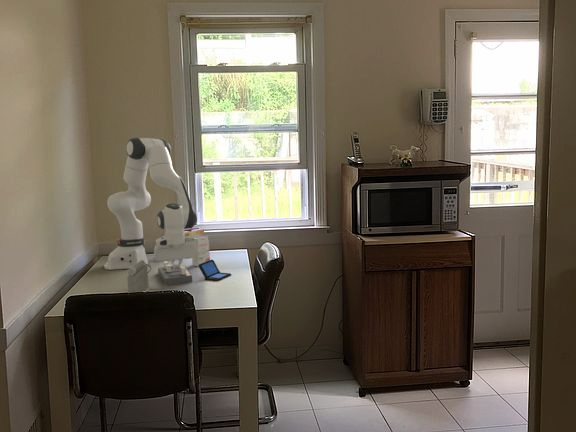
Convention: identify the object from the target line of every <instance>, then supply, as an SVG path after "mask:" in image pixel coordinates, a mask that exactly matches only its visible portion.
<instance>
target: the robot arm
mask: <svg viewBox="0 0 576 432" xmlns="http://www.w3.org/2000/svg"><path fill="white" fill-rule="evenodd" d="M125 150H126V155H127V158H126V163H125V167H124V173H123V181H124V183H126V184H127V186H128V188H127V190H126V191H119V192H116V193H114V194H111V195H110V196H108V198H107V201H106V202H107V203H106V204H107V207H108V210H109V211H110V212H111V213H112V214H114V215H115V217H116V218H117V221H118V222H119V223H118V224H119V226H120V236H121V238H117V239H116V241H115V242H116V243H117V247H116V248H114V250H112V251H111V252H110V253H109V255H108V259H107V262H106V263H104V265H103V268H104V270H108V271H109V270H110V271H111V270H123V269H130V268H131V267H134V265H136V264H137V263H139V262H140V261H141V260H143V261H144V262H145V264H148V265H149V260H148V258H147V254H146V249H145V247H146V241H145V237H144V231H143V230H144V229H143V221H141V220H140V219H138V218H137V217H136V215H135V212H139V211H141V210H142V211H143V210H144V209H146V208H148V207H149V206H150V205H151V202H152V197H151V194H150V192H149V191H148V190H147V187H146V180H147V174H148V172H149V175H150V178H151V180H152V181H153V182H154V183H155V184H156V185H157V186H159V187H163V188H168V189H170V190H172V191H174V192H175V193H176V194H177V196H178V199H179V202H180V204H179V203H176V202H175V203H168V204H166V205H165V206H164V209H162V210H160V211H159V212H158V213H157V215H156V224H157V226H158V228H160V229H161V230H163V231H164V230H165V232H164V234H165V236H160V237H159V238H157V239H155V245H154V248H153V260H154V261H155V262H164V261H168V262H169V261H170V262H171V264H172V266H173V268H174V269H180V265H182V263H183V260H187V259H192V258H197V257H198V255H199V254H198V248H197V246H198V240H197V239H195V238H186V239H185V231H184V230H188V229H193V227H195V225H196V224H197V223H198V216H197V212H196V211H195V208H194V206H193V204H192V202H191V198H190V195H189V193H188V190H187V188H186V185H185V182H184V180H183V179H182V177H181V176H180V175H178V174H177V173H176V171H175V170H174V167H173V162H172V159H171V153H172V147H171V144H170V143H169V141H167V140H165V139H157V138H152V137H140V138H139V137H132V138H130V139H128V141H127V142H126V148H125ZM148 170H149V171H148ZM176 260H178V264H175V261H176ZM145 264H144V265H143V266H146V265H145Z"/></svg>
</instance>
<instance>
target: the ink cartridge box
mask: <svg viewBox="0 0 576 432" xmlns="http://www.w3.org/2000/svg"><path fill="white" fill-rule="evenodd" d="M202 238H203V239H204V240H201V239H202ZM197 240H198V246H197V248H198V254H199V255H198V257H197V258H191V262H192V266H196V267H199V264H202V263H204V262H207V261H210V260H211V256H210V240H209V236H208V235H204V236H203V237H199V238H197Z"/></svg>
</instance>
